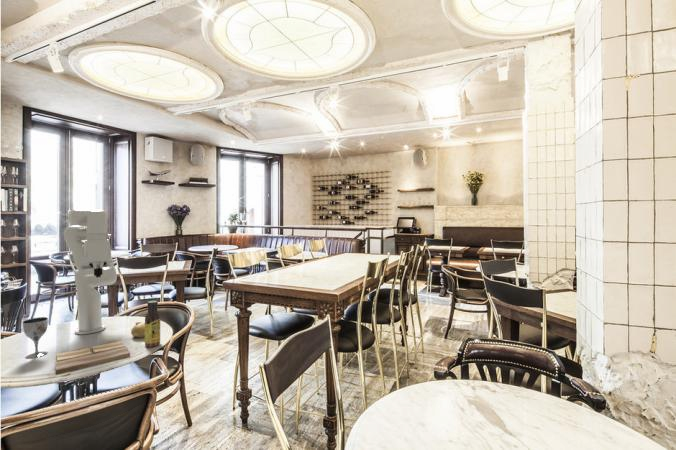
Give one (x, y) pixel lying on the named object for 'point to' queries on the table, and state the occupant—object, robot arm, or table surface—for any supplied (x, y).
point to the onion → (138, 330)
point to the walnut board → (91, 359)
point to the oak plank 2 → (107, 347)
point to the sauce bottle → (152, 325)
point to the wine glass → (35, 333)
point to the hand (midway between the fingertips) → (98, 276)
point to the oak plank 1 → (73, 354)
